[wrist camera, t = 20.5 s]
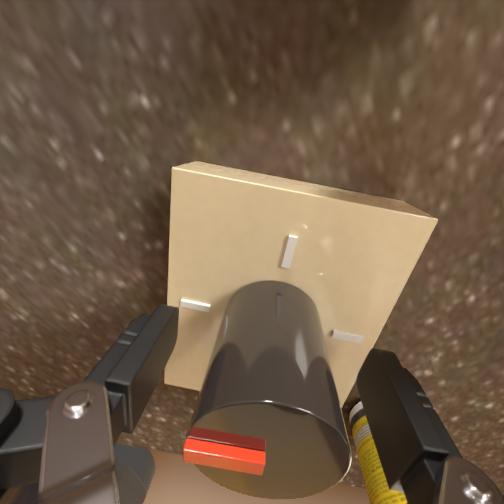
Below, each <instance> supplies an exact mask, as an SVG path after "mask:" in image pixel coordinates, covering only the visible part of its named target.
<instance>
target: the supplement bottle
mask: <svg viewBox="0 0 504 504" xmlns="http://www.w3.org/2000/svg"><path fill="white" fill-rule="evenodd" d="M349 422H350V427H351V432H352V435H353V439H354V443H355V446H356V450H357V454H358V458H359V462H360V466H361V469H362V473H363V477H364V481H365V485H366V488H367V492H368V496H369V500H370V503H371V504H406V503H407V500H406V497H405V494H404V493H402V492H397V491H392V490H389V487H388V484H387V481H386V478H385V475H384V472H383V468H382V465H381V462H380V459H379V456H378V453H377V450H376V447H375V443H374V440H373V437H372V434H371V431H370V428H369V425H368V421H367V418H366V415H365V412H364V409H363V406H362V403H361V401H360V402H359V403H357V404H356V405H355V406H354V407H353V409H352V410H351V412H350V416H349Z"/></svg>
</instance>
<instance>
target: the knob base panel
mask: <svg viewBox="0 0 504 504" xmlns="http://www.w3.org/2000/svg"><path fill="white" fill-rule="evenodd" d="M437 222H438V219H437V218H435V217H433V216H431V215H429V214H427V213H425V212H423V211H421V210H419V209H417V208H415V207H413V206H411V205H409V204H407V203H405V202H403V201H399V200H394V199H389V198H384V197H378V196H373V195H368V194H363V193H358V192H353V191H348V190H343V189H337V188H332V187H327V186H322V185H317V184H312V183H307V182H301V181H296V180H291V179H286V178H281V177H276V176H271V175H265V174H260V173H255V172H250V171H245V170H240V169H235V168H229V167H224V166H219V165H214V164H209V163H204V162H199V161H195V162H191V163H187V164H183V165H179V166H176V167H172V178H171V207H170V235H169V264H168V293H167V305H169V306H174V307H178V308H179V320H178V335H177V341H176V344H175V347H174V350H173V352H172V354H171V356H170V358H169V360H168V362H167V364H166V366H165V379H164V383H165V384H169V385H174V386H179V387H183V388H188V389H193V390H198V391H200V389H201V386H202V383H203V379H204V376H205V373H206V370H207V366H208V363H209V360H210V357H211V354H212V350H213V347H214V344H215V341H216V337H217V334H218V331H219V328H220V324H221V321H222V318H223V315H224V312H225V308H226V306H227V303H228V301H229V300H230V298H231V297H232V296H233V295H234V294H235V293H236V292H237V291H238V290H240V289H241V288H243V287H245V286H246V285H249V284H251V283H254V282H258V281H265V280H273V281H281V282H286V283H289V284H292V285H294V286H296V287H298V288H299V289H301V290H303V291H304V292H305V293H306V294H307V295H308V296H309V297H310V298H311V299H312V300H313V302H314V303H315V305H316V307H317V309H318V312H319V316H320V321H321V325H322V329H323V333H324V337H325V342H326V346H327V350H328V354H329V359H330V363H331V367H332V371H333V376H334V380H335V384H336V388H337V392H338V397H339V401H340V405H341V408H342V406H343V404H344V402H345V400H346V398H347V396H348V394H349V392H350V391H351V389H352V387H353V385H354V383H355V381H356V379H357V375H358V372H359V370H360V368H361V366H362V364H363V363H364V361H365V359H366V357H367V355H368V353H369V351H370V350H371V349H372V348H373V346H374V344H375V342H376V340H377V338H378V336H379V334H380V332H381V330H382V328H383V326H384V325H385V323H386V321H387V319H388V317H389V315H390V313H391V311H392V309H393V307H394V305H395V303H396V301H397V299H398V297H399V295H400V293H401V292H402V290H403V288H404V286H405V284H406V282H407V280H408V278H409V276H410V274H411V272H412V270H413V268H414V266H415V264H416V262H417V260H418V259H419V257H420V255H421V253H422V251H423V249H424V247H425V245H426V243H427V241H428V239H429V237H430V235H431V233H432V231H433V229H434V227H435V225H436V224H437Z"/></svg>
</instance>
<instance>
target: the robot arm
mask: <svg viewBox="0 0 504 504" xmlns="http://www.w3.org/2000/svg"><path fill="white" fill-rule="evenodd" d="M178 320H179V308H178V307H174V306H169V305H164V304H159V305H158V307H157V308H156V309H155V311H154V312H153V314H152V315H147V314H142V315H141V316H139V317H138V318H136V319H134V320H133V321H131V323H130V324H129V325H128V326H127V328H126V329H125V330H124V331H123V334H121V335H120V336H119V338H118V339H117V340H116V342H115V343H114V344H113V345H112V346H111V348H110V349H109V350H108V351H107V353H106V354H105V355H104V356H103V357H102V359H101V360H100V361H99V362H98V364H97V365H96V366H95V367H94V369H93V370H92V371H91V372H90V374H89V375H88V376H87V377H86V378H85V379H84V380H83V381H82V382H78V383H75V384H72V385H70V386H68V387H67V388H65V389H64V390H62V391H61V392H60V393H58V394H57V395H56V396H51V397H44V398H35V399H26V400H16V401H15V398H14V396H13V394H12V393H11V392H10V391H9V390H7V389H3V388H0V504H120V501H119V492H118V483H117V474H116V465H115V456H114V446H115V444H116V442H117V440H118V438H119V436H120V434H121V432H125V433H130V434H132V433H133V431H134V429H135V427H136V425H137V423H138V421H139V419H140V417H141V415H142V413H143V411H144V409H145V407H146V405H147V403H148V400H149V398H150V396H151V394H152V392H153V390H154V388H155V386H156V384H157V382H158V380H159V378H160V376H161V374H162V372H163V370H164V368H165V366H166V364H167V362H168V360H169V358H170V356H171V354H172V352H173V350H174V347H175V344H176V341H177V335H178ZM357 390H358V393H359V396H360V400H361V403H362V406H363V409H364V412H365V415H366V418H367V421H368V425H369V428H370V431H371V434H372V437H373V440H374V443H375V447H376V450H377V453H378V456H379V459H380V462H381V465H382V468H383V472H384V475H385V478H386V481H387V484H388V487H389V490H392V491H397V492H402V493H404V494H405V497H406V500H407V503H406V504H504V495H502V493H501V492H500V490H499V489H498V487H497V486H496V485H495V484H494V482H493V481H492V480H491V479H490V478H489V477H488V476H487V475H486V474H485V473H484V472H483V471H482V470H481V469H479V468H478V467H477V466H476V465H474V464H472V463H471V462H469V461H467V460H465V459H463V457H462V456H461V454H460V453H459V451H458V449H457V447H456V446H455V444H454V442H453V440H452V439H451V437H450V435H449V434H448V432H447V430H446V428H445V427H444V425H443V423H442V422H441V420H440V418H439V416H438V415H437V413H436V411H435V410H434V409H433V406H432V404H431V403H430V401H429V399H428V398H426V394H425V392H424V391H423V389H422V387H421V385H420V384H419V382H418V381H417V380H416V379H415V377H414V376H413V375H412V374H411V373H410V372H409V371H408V370H407V369H406V368H402V366H401V364H400V362H399V360H398V358H397V357H396V355H395V354H394V353H393V352H390V351H385V350H380V349H375V348H372V349H371V350H370V351H369V353H368V355H367V357H366V359H365V361H364V363H363V364H362V366H361V368H360V370H359V372H358V375H357Z"/></svg>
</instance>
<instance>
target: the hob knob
mask: <svg viewBox="0 0 504 504" xmlns="http://www.w3.org/2000/svg"><path fill="white" fill-rule="evenodd" d="M351 459H352V453H351V447H350V443H349V439H348V435H347V430H346V426H345V422H344V418H343V414H342V409H341V405H340V401H339V397H338V392H337V388H336V384H335V380H334V376H333V371H332V367H331V363H330V359H329V354H328V350H327V346H326V342H325V337H324V333H323V329H322V325H321V321H320V316H319V312H318V309H317V307H316V305H315V303H314V302H313V300H312V299H311V298H310V297H309V296H308V295H307V294H306V293H305V292H304V291H303V290H301V289H299V288H298V287H296V286H294V285H292V284H289V283H286V282H281V281H273V280H265V281H258V282H254V283H251V284H249V285H246V286H245V287H243V288H241V289H240V290H238V291H237V292H236V293H235V294H234V295H233V296H232V297H231V298H230V300H229V301H228V303H227V306H226V308H225V312H224V315H223V318H222V321H221V324H220V328H219V331H218V334H217V337H216V341H215V344H214V347H213V350H212V354H211V357H210V360H209V363H208V366H207V370H206V373H205V376H204V379H203V383H202V386H201V389H200V392H199V395H198V399H197V402H196V405H195V408H194V412H193V415H192V418H191V421H190V425H189V428H188V431H187V434H186V442H185V445H184V448H183V461H184V462H188V463H193V464H194V465H195V466H196V467H197V468H198V469H199V470H200V471H201V472H202V473H203V474H204V475H205V476H207V477H208V478H210V479H211V480H212V481H214V482H216V483H218V484H220V485H221V486H224V487H226V488H228V489H231V490H233V491H236V492H239V493H242V494H246V495H251V496H255V497H261V498H269V499H294V498H302V497H307V496H312V495H315V494H318V493H321V492H323V491H326V490H328V489H330V488H331V487H333V486H335V485H336V484H337V483H339V482H340V481H341V480H342V479H343V478H344V477H345V475H346V474H347V472H348V471H349V468H350V466H351Z"/></svg>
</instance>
